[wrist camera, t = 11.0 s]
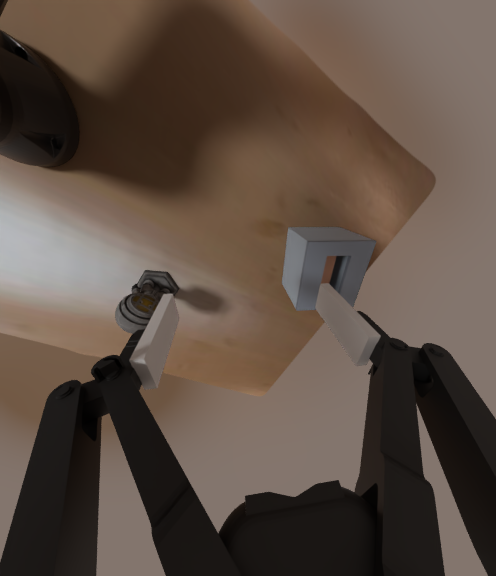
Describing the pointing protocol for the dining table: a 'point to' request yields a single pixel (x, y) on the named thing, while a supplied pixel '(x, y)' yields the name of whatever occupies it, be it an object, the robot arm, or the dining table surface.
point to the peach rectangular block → (328, 269)
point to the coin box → (311, 261)
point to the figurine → (144, 300)
